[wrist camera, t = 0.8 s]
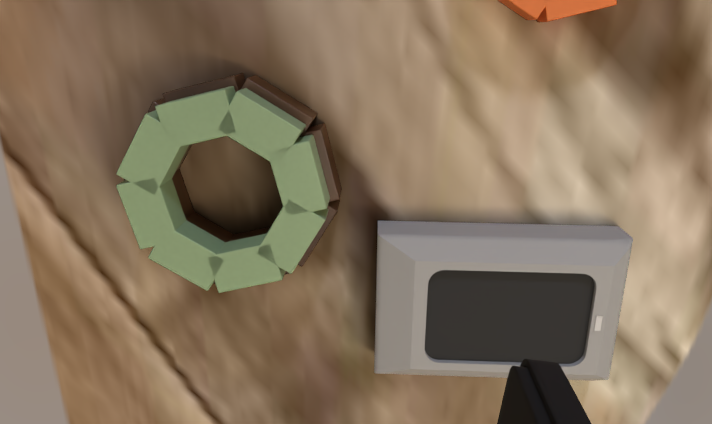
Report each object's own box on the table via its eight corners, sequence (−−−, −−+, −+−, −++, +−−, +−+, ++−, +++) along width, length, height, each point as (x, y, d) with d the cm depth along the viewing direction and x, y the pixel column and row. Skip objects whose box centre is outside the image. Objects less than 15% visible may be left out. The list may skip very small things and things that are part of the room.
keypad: (377, 241, 32) (644, 247, 31) (377, 220, 36) (618, 226, 35) (374, 384, 35) (618, 392, 34) (374, 352, 38) (596, 359, 38)
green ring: (108, 116, 32) (91, 121, 30) (296, 69, 31) (290, 72, 29) (172, 290, 35) (160, 305, 33) (345, 254, 34) (343, 268, 32)
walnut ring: (114, 104, 34) (97, 109, 32) (307, 56, 33) (303, 58, 31) (179, 284, 38) (167, 298, 35) (356, 247, 36) (355, 260, 34)
